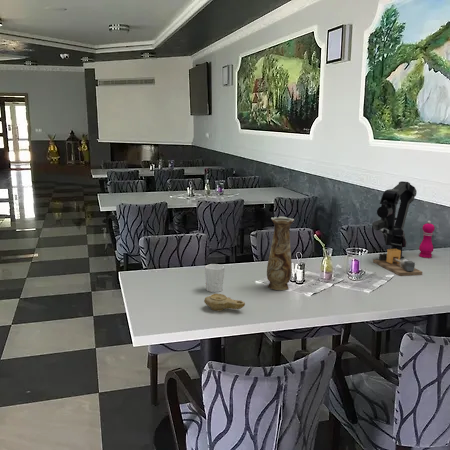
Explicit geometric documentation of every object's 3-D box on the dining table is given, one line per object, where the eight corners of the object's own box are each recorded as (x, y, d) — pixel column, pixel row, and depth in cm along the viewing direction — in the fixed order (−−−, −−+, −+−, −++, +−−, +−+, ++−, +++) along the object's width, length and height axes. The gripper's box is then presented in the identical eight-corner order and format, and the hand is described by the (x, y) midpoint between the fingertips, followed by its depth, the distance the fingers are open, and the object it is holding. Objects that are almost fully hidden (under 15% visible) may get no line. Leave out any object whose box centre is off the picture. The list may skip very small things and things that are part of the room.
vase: (261, 286, 207) (264, 218, 201) (276, 281, 215) (279, 215, 209) (281, 292, 200) (284, 221, 194) (295, 287, 208) (299, 218, 202)
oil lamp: (245, 313, 177) (246, 300, 176) (207, 315, 174) (207, 302, 173) (239, 303, 187) (239, 291, 186) (202, 305, 184) (203, 292, 183)
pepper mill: (415, 255, 265) (419, 219, 261) (425, 254, 268) (428, 219, 264) (425, 258, 259) (429, 222, 255) (435, 257, 262) (439, 221, 258)
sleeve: (386, 261, 244) (387, 249, 243) (395, 261, 245) (396, 248, 244) (390, 263, 240) (391, 251, 239) (399, 263, 241) (400, 250, 240)
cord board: (373, 262, 250) (374, 250, 249) (393, 261, 253) (394, 249, 251) (399, 276, 227) (400, 263, 226) (422, 274, 230) (423, 262, 228)
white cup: (214, 285, 207) (215, 262, 205) (227, 290, 202) (228, 267, 200) (201, 289, 202) (201, 266, 200) (213, 294, 196) (214, 270, 194)
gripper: (365, 212, 252) (363, 241, 255) (385, 219, 234) (382, 250, 237) (384, 211, 254) (382, 240, 258) (405, 218, 237) (402, 249, 240)
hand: (386, 245), depth 248 cm, fingers closed
